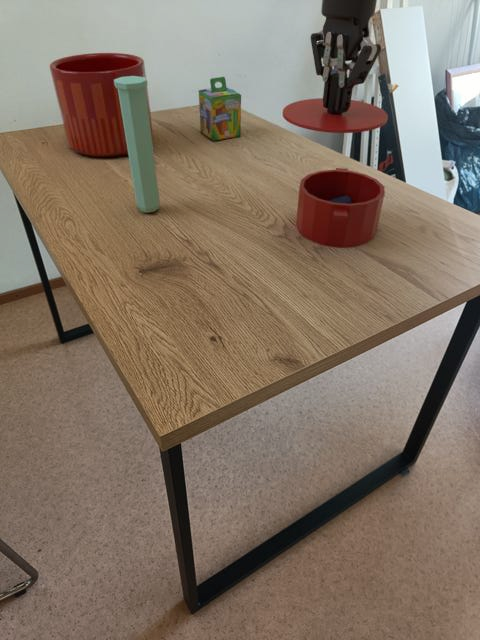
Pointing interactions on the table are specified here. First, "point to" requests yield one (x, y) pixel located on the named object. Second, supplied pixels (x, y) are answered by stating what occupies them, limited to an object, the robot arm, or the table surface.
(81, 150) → the planter
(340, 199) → the tube
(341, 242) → the pot
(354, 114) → the pot lid
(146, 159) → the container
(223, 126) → the chalk box
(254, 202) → the table surface
